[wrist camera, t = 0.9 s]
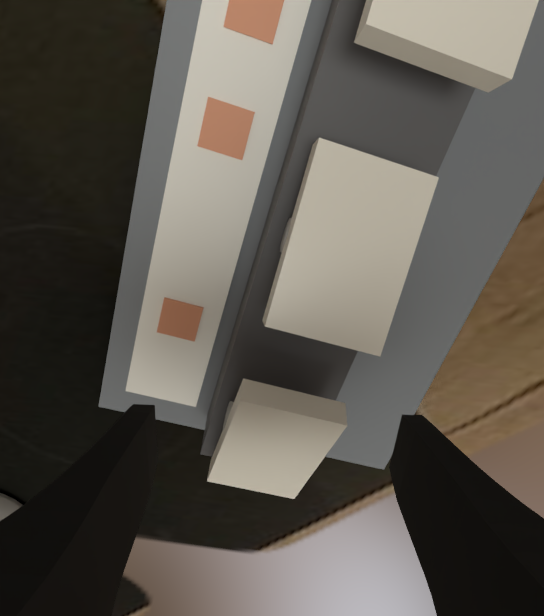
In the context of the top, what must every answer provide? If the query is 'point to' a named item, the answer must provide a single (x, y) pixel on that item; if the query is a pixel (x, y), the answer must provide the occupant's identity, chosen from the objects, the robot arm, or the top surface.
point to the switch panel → (436, 263)
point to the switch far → (275, 438)
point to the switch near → (451, 36)
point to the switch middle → (348, 247)
